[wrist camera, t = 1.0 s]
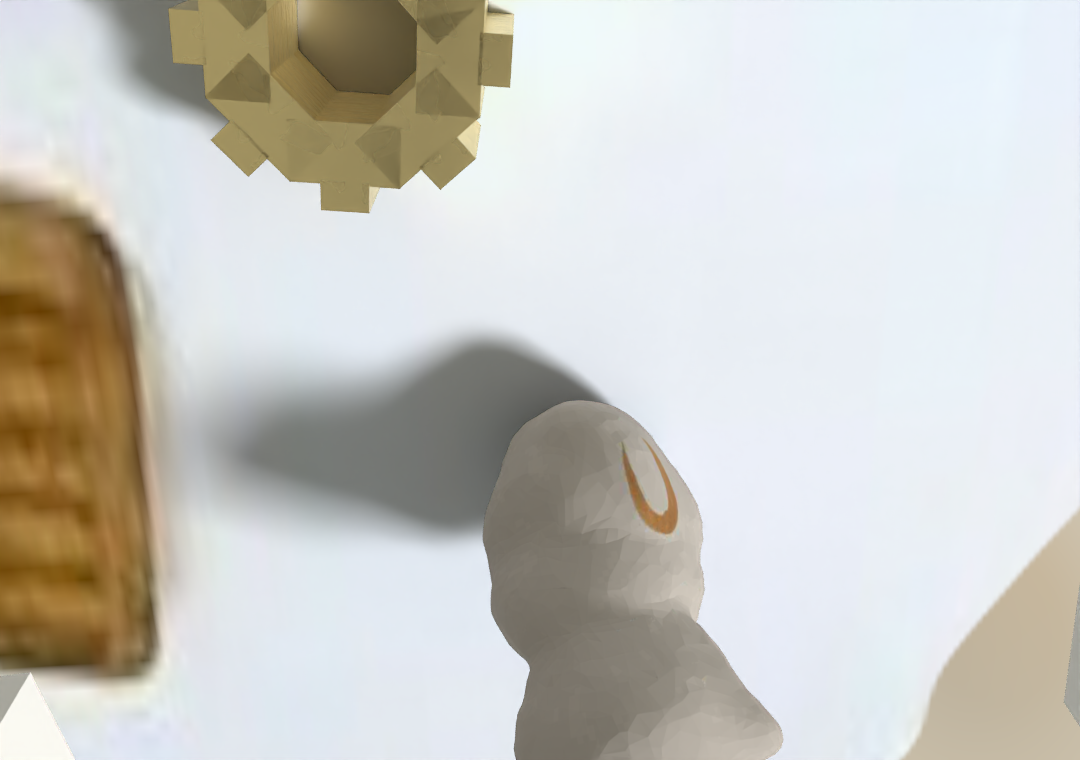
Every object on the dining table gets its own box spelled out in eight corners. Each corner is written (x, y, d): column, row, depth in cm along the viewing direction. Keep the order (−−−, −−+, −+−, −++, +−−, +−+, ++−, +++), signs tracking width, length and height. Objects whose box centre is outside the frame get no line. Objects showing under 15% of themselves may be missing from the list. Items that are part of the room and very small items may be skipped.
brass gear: (222, 163, 33) (185, 201, 29) (198, -156, 28) (153, -158, 25) (503, 182, 33) (502, 221, 29) (522, -129, 29) (522, -126, 25)
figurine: (501, 588, 41) (493, 940, 28) (472, 372, 36) (446, 671, 23) (713, 572, 41) (807, 917, 28) (712, 352, 36) (824, 641, 23)
